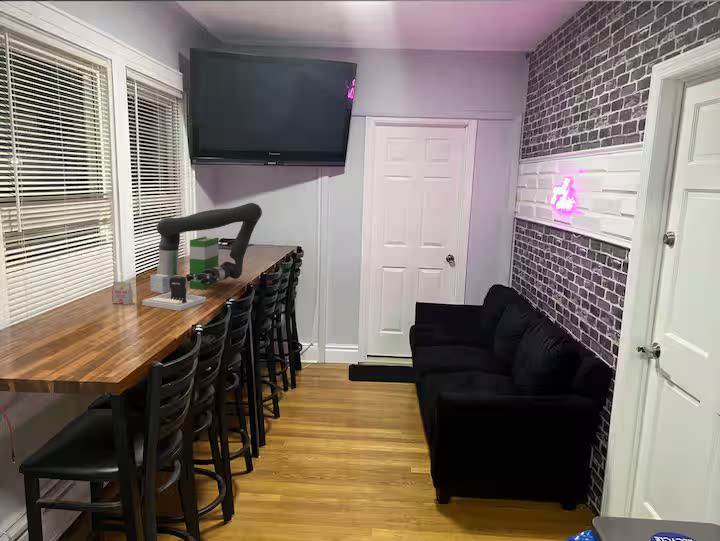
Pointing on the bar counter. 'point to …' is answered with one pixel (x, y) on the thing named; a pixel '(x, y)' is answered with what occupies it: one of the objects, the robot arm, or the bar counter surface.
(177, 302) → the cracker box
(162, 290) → the medicine box
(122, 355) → the bar counter surface
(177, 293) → the battery charger
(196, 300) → the tray
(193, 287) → the hardback book
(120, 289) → the tea bag
